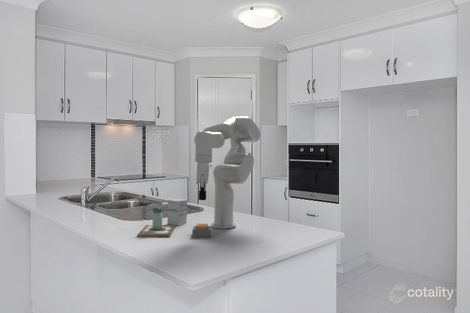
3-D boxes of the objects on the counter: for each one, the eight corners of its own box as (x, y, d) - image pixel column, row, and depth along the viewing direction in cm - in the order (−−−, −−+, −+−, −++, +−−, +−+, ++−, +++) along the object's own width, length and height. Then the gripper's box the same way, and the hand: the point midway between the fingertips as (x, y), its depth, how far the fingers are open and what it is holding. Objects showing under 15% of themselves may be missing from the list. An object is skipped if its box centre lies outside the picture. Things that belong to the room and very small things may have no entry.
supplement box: (166, 224, 186) (167, 199, 186) (175, 221, 193) (176, 198, 192) (178, 225, 183) (179, 201, 182) (187, 223, 189) (187, 199, 189)
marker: (153, 228, 171) (153, 206, 170) (162, 228, 171) (163, 207, 171) (151, 230, 166) (152, 208, 166) (161, 230, 166) (161, 208, 166)
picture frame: (146, 227, 178) (146, 224, 178) (174, 227, 179) (175, 224, 179) (137, 236, 158) (137, 234, 158) (169, 237, 159) (169, 234, 159)
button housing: (193, 233, 167) (193, 225, 167) (210, 233, 168) (211, 226, 167) (192, 237, 159) (192, 229, 159) (210, 237, 160) (210, 230, 160)
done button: (196, 229, 166) (196, 223, 166) (207, 229, 166) (207, 223, 166) (196, 232, 161) (196, 225, 161) (207, 232, 161) (207, 226, 161)
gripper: (196, 158, 170) (195, 197, 170) (193, 159, 155) (192, 202, 155) (212, 159, 170) (211, 197, 170) (211, 159, 155) (210, 202, 156)
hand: (202, 199), depth 163 cm, fingers closed
